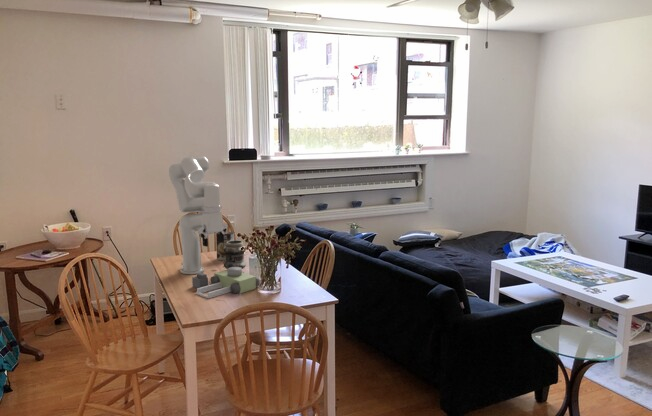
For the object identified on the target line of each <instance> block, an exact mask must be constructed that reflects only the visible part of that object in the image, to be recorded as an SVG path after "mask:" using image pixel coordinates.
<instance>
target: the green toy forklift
mask: <svg viewBox="0 0 652 416" xmlns="http://www.w3.org/2000/svg"><path fill="white" fill-rule="evenodd" d="M242 270H243V269H242V268H240V267H230V268H228V269H225V270H221V271H220V270H219V271H217V272H214V273H213V275H214V276H211V277H210V283H211V284H208V286H205V287H201V288H198V289H197V288H196V292H195V295H198V296H201V297H202V298H206V299H211V298H212V299H213V298H214V297H218V296H221V295H224V294H228V293H233V294H234V295H235V294H241V293H242V294H243V293H245V292H249V291H252V290H254V289H257V288H258V287H259V286H260V282H261V281H260V279H259V278H258V277H257V276H255V275H252V274H248V273H246V272H244V273H242V272H243V271H242ZM206 292H207V294H205V293H206Z"/></svg>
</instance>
